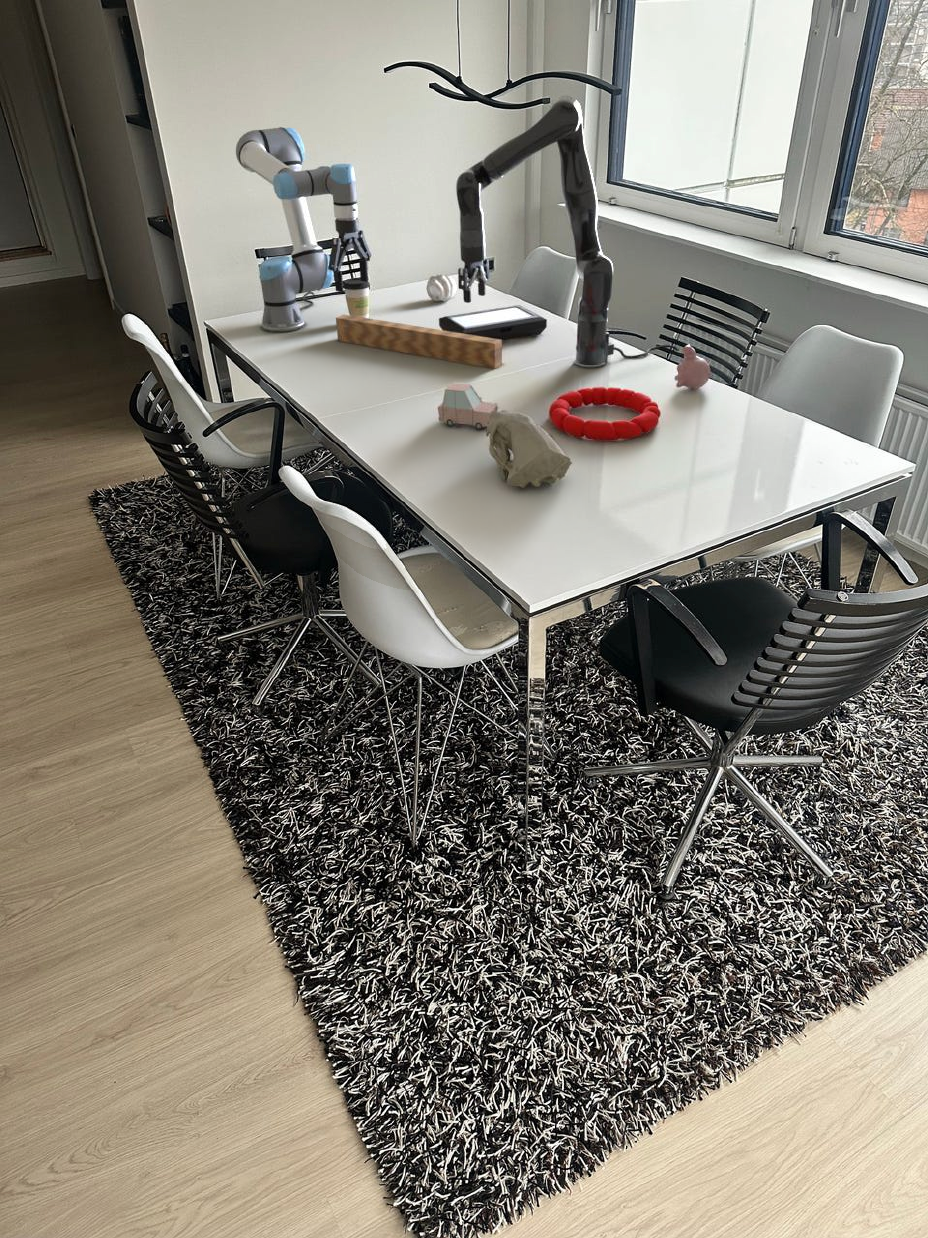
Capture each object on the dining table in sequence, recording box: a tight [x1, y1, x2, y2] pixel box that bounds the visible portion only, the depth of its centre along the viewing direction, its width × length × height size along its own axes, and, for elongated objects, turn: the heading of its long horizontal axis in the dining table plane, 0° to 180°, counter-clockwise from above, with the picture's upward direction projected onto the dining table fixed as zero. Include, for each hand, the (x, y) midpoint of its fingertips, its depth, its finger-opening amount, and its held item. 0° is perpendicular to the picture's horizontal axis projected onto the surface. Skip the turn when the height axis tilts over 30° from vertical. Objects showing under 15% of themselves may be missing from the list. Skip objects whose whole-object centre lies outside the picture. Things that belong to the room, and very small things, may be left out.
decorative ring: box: [548, 386, 661, 442], centre depth 242 cm, size 7×30×30 cm
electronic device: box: [438, 304, 548, 342], centre depth 309 cm, size 32×6×20 cm
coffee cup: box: [343, 277, 371, 318], centre depth 323 cm, size 10×10×15 cm
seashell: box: [426, 274, 457, 302], centre depth 346 cm, size 10×15×10 cm
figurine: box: [674, 344, 711, 390], centre depth 259 cm, size 9×11×12 cm
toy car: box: [437, 382, 499, 431], centre depth 243 cm, size 9×15×10 cm, turn 70°
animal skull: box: [485, 409, 573, 489], centre depth 216 cm, size 17×25×20 cm
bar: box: [335, 314, 503, 370], centre depth 296 cm, size 64×4×8 cm, turn 58°
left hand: (352, 286), depth 299 cm, fingers open, 13 cm apart
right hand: (474, 298), depth 277 cm, fingers open, 8 cm apart
